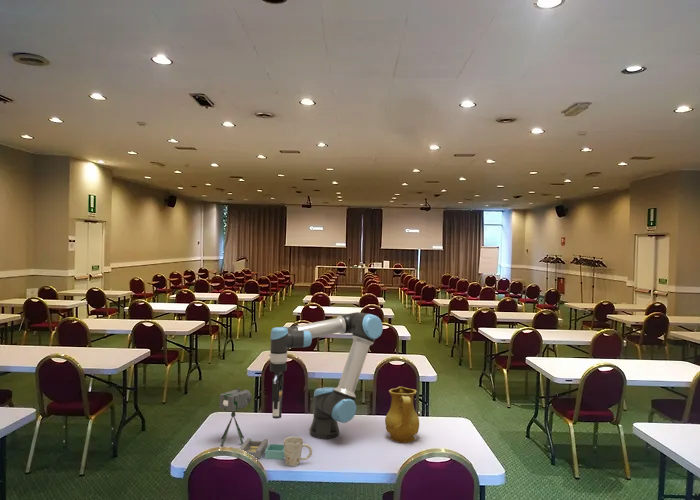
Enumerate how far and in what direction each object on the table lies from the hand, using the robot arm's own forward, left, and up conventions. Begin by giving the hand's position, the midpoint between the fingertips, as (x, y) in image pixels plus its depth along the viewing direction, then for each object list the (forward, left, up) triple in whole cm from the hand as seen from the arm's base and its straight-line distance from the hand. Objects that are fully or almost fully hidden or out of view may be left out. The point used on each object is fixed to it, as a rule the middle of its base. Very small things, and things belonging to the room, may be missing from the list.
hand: (277, 414), depth 218 cm
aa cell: (0, 0, -1) cm, 1 cm away
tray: (0, 0, -18) cm, 18 cm away
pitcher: (-57, -29, -19) cm, 67 cm away
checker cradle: (+11, -2, -18) cm, 21 cm away
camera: (+24, -14, -19) cm, 33 cm away
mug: (-11, +7, -19) cm, 23 cm away
